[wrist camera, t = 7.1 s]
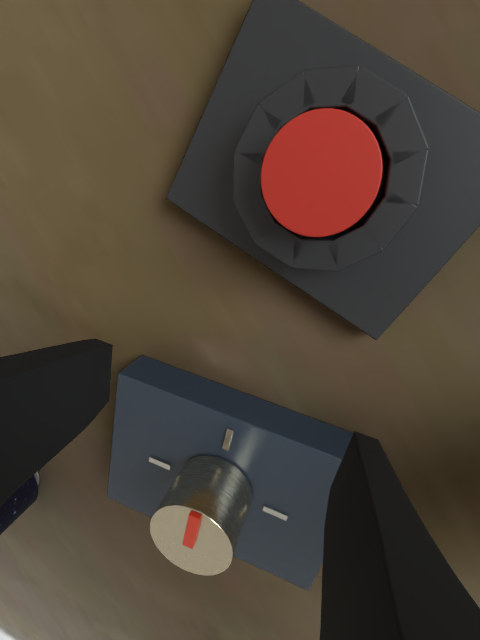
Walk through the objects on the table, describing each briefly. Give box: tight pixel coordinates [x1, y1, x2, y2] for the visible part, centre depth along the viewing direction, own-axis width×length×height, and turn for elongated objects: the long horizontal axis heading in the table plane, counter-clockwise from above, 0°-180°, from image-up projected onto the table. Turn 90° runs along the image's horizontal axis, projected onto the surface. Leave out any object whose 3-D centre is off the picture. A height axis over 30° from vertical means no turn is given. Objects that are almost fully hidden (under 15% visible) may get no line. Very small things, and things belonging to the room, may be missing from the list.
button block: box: [166, 0, 480, 340], centre depth 14 cm, size 12×9×3 cm
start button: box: [261, 108, 383, 237], centre depth 13 cm, size 4×4×2 cm
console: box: [107, 355, 353, 591], centre depth 21 cm, size 14×10×3 cm
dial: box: [150, 455, 252, 576], centre depth 19 cm, size 4×4×4 cm
